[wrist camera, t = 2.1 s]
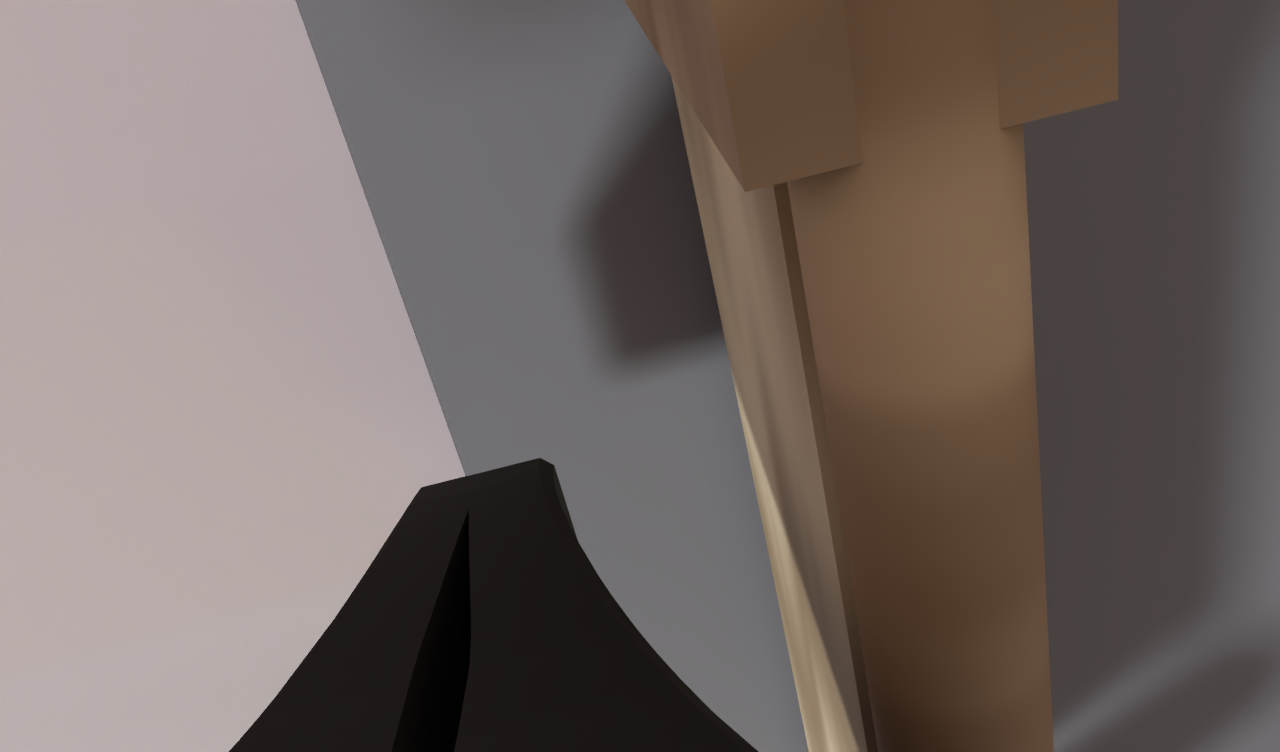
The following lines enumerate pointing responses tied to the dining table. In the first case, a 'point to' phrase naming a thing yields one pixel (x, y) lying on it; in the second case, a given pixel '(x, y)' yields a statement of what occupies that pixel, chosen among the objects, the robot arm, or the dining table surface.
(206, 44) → the dining table surface
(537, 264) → the mat
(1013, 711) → the gate
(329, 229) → the dining table surface
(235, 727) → the dining table surface
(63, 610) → the dining table surface
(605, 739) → the robot arm
